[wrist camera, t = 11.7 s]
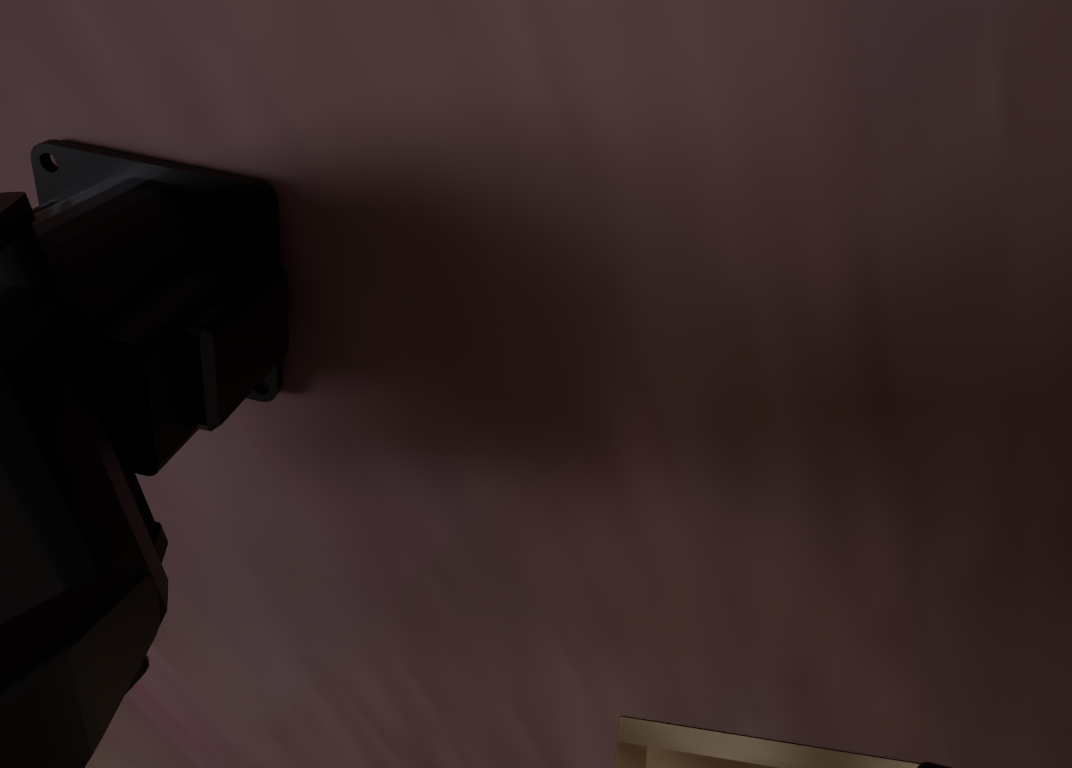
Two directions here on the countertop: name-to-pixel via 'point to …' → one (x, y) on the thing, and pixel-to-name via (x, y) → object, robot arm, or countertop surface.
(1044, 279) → the countertop surface
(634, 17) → the countertop surface
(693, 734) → the cream square tray
